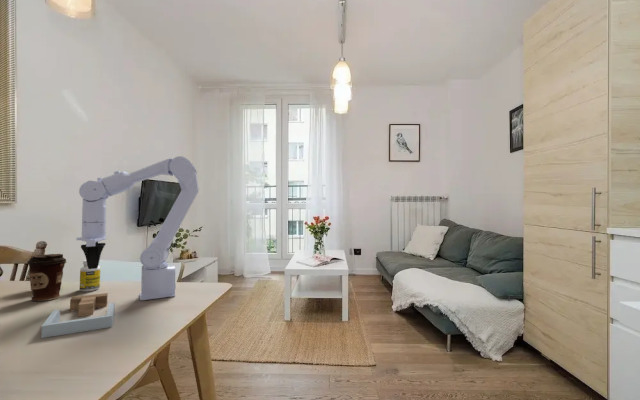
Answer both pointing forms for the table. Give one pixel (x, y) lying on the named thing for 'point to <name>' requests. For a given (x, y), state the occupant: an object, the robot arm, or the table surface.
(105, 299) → the t block
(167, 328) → the table surface
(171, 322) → the table surface
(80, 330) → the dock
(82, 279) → the supplement bottle
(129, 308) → the table surface
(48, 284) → the coffee cup
